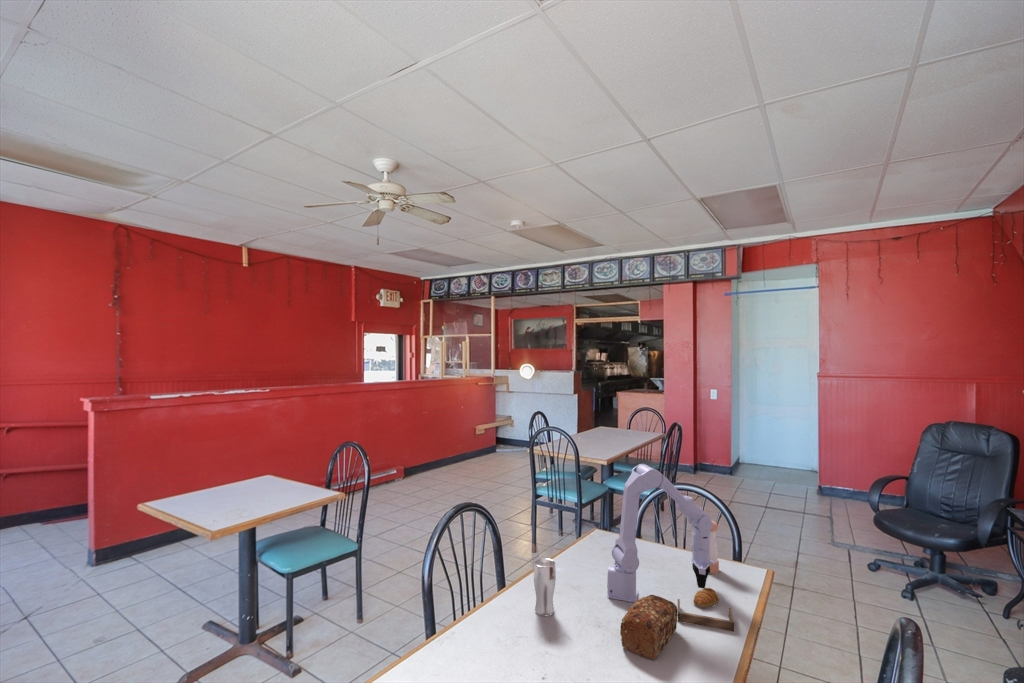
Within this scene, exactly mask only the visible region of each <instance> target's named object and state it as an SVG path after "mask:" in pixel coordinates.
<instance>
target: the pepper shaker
mask: <svg viewBox="0 0 1024 683" xmlns="http://www.w3.org/2000/svg"><path fill="white" fill-rule="evenodd" d="M711 521H712V522H713V527H712V529H711V531H710V560H712V561H713V562H714V565H709V566H710V573H709V574H717V572H718V573H719V570H720V566H719V563H720V562H719V560H718V558H719V557H718V556H719V554H718V552H719V551H718V547H717V546H718V545H717V530H718V529H719V526H718V523H717V522H716V521H715V520H711Z"/></svg>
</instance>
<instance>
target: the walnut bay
mask: <svg viewBox="0 0 1024 683" xmlns="http://www.w3.org/2000/svg"><path fill="white" fill-rule="evenodd" d="M680 602H681V600H680V598H677V615H678V617H677V622H679V621H680V622H679V623H684V622H685V624H689V623H690V625H695V626H701V627H706V628H712V629H718V630H723V631H728V632H735V620H734V616H733V611H732V608H731V607H728V619H729V620H728V619H724V618H719V617H714V616H713V617H711V616H706V615H703V614H702V615H700V614H695V613H689V612H684V611H681V609H680V608H681V607H680V604H681V603H680Z"/></svg>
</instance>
